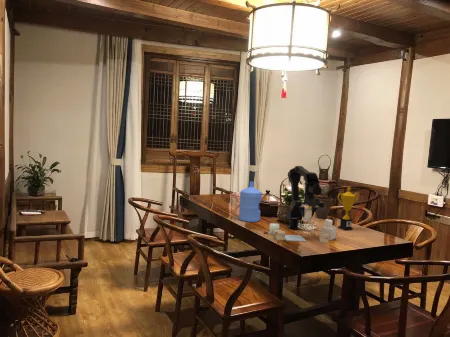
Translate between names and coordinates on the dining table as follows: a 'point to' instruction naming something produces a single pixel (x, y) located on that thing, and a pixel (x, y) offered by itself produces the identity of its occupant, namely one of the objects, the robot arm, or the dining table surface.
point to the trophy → (347, 209)
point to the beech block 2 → (323, 237)
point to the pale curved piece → (273, 227)
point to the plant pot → (324, 211)
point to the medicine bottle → (329, 228)
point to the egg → (307, 214)
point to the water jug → (250, 204)
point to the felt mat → (294, 238)
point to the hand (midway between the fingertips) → (307, 217)
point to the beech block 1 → (279, 235)
